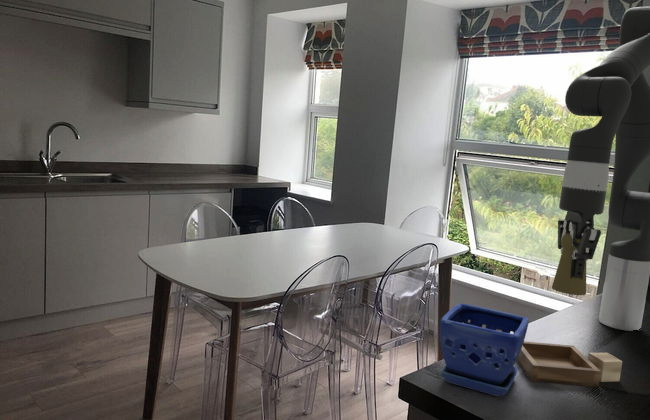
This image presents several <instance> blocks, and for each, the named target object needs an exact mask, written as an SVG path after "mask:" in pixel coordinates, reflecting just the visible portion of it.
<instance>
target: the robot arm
mask: <svg viewBox="0 0 650 420" xmlns="http://www.w3.org/2000/svg"><path fill="white" fill-rule="evenodd" d="M648 67H650V5H649V6H648V5H647V6H637V7H631V8H628V9H626V10H625V12H624V14H623V15H622V18H621V22H620V28H619V47H617V48H615V49H614V50H612V51H611V52H610V53H609V54H607V56H606V57H605V58H604V60H602V62H601V63H600V64H598V65H596V66H594V67H592V68H590V69H589V70H587V71H585V72H583V73H581V74H579V76H577V77H576V78H575V79H574V80H573V81H572V82H571V83H570V85H569V86H568V88H567V90H566V92H565V98H564V99H565V100H564V101H565V105H566V108H567V110H568V111H569V112H570V113H571V114H572V115H574V116H578V117H579V116H580V117H600V120H599V121H598V122H597V123H596V125H594V126H591V127H587V128H582V129H577V130H575V131H573V132H571V133H572V134H571V135H570V140H569V147H568V154H567V155H568V156H567V159H566V160H567V162H566V165H565V168H564V170H563V171H564V173H563V178H562V185H561V192H560V198H559V204H558V205H559V206H558V207H559V209H560V210H562V211H564V212H566V214H565V218H564V219H558V220H557V248H558V250H560V255H561V254H562V251H563V248H562V246H561V239H562V236H563V235H564V234H566V233H570V236H571V239H572V240H571V246H572V247H574V249H573V251H572V259H573V260H572V264H571V276H570V278H571V279H572V277H576V278H581V280H582V279H583V273H584V266H585V261H586V262H587V261H588V260H593V258H594V255H595V252H596V249H597V247H598V243H599V241H600V238H601V235H602V230H601V229H596V228H594V225H595V220H594V219H595V218H594V216H595V215H597V216H598V215H602V214H603V213H604V211H605V204H606V203H605V202H606V196H607V190H608V183H609V175H610V173H609V172H610V171H609V169H610V168H609V167H610V165H609V164H610V159H611V156H612V155H611V153H612V147H613V143H614V141H615V145H614V148H615V149H614V162H613V163H614V164H613V174H612V182H611V189H610V196H609V203H608V213H607V214H608V221H609V224H610V225H611V226H613V227H617V228H621V229H626V230H627V229H628V230H634V231H639V234H638V236H636V237H634V238H632V239H628V240H619V241H615V242H614V241H613V242H612V243H611V244H610V246H609V252H608V258H607V265H606V271H605V272H606V273H605V278H604V282H603V287H602V295H601V302H600V308H599V315H598V319H599V320H598V321H599V323H601V324H603V325H604V326H606V327H609V328H611V329H612V328H613V329H616V330H622V331H627V332H628V331H629V332H634V331H633V330H638V331H640V330H641V329H642V323H643V317H644V313H645V306H646V299H647V298H646V297H647V294H648V293H647V292H648V286H649V282H650V281H649V280H650V192H644V191H643V192H642V191H634V190H629V182H630V180H631V179H632V177H633V175H634V174H635V172H636V171H637V170H638V168H639V167H640V166H641V165H642V164H643V163H644V161H646V159H648V157H649V156H650V84H649V82H648V80H647V79H646V76H645V75H644V71H645V70H646V69H647V68H648ZM614 139H615V140H614ZM576 238H577V239H581V242H580V243H577V242H576ZM578 247H579V248H578ZM589 248H590V249H589ZM584 249H585V250H584ZM588 249H589V251H588ZM583 251H584V252H583ZM640 328H641V329H640ZM639 329H640V330H639Z"/></svg>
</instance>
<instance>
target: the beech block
mask: <svg viewBox="0 0 650 420" xmlns="http://www.w3.org/2000/svg"><path fill="white" fill-rule="evenodd" d="M587 359H588V360H589V361H590V362H591V363H593V364H594V365H595V366H596V367H597V368H598V369H599V370H600V371H601V374H600V380H599V383H600V382H602V383H605V382H620V380H621V373H622V368H623V367H622V365H623V361H622V360H621V359H620V358H617V357H616V356H614V355H612V354H610V353H609V352H588V358H587Z"/></svg>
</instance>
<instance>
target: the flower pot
mask: <svg viewBox="0 0 650 420" xmlns="http://www.w3.org/2000/svg"><path fill="white" fill-rule="evenodd" d="M529 322H530V321H529V318H528V317H526V316H523V315H518V314H514V313H510V312H505V311H500V310H496V309H492V308H488V307H483V306H478V305H473V304H468V303H457V304H456V305H455V306H453V307H452V308H451V309H449V311H448V312H447V313H445V314H444V315H443V316H442V318H441V319H440V323H439V339H440V340H439V341H440V348H441V349H440V350H441V352H442V357H443V360H444V363H445V365H444V367H443V368H442V370H441V372H440V373H441V377H442V378H443V379H444V380H445V381H446V382H447V383H450V384H453V385H457V386H460V387H464V388H467V389H470V390H474V391H477V392H482V393H484V394H489V395H491V396H494V397H502V396H504V395H506V394H507V393H508V392H509V390H510V388H511V386H512V384H513V383H514V380H515V378H516V376H517V374H518V370H519V368H518V367H517V366H515V365H516V363H517V361H516V360H517V358H518V356H519V354H520V351H521V348H522V345H523V343H524V341H525V339H526V334H527V332H528V331H527V330H528V329H529V328H528V327H529ZM483 326H485V327H483ZM511 332H512V333H511Z"/></svg>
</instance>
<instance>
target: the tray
mask: <svg viewBox="0 0 650 420" xmlns="http://www.w3.org/2000/svg"><path fill="white" fill-rule="evenodd" d="M517 361H518V362H519V363H518V362H517ZM517 361H516V362H517V363H518V365H519V364H520V365H521V366H520V365H519V366H520V368H521V367H522V368H523V369H522V368H521V369H522V371H525V372H524V373H525V374H526V375H528V376H527V377H528V379H529V378H530V379H529V380H530V382H537V381H538V382H539V383H549V384H560V385H561V384H562V385H570V386H571V385H572V386H582V387H583V386H585V387H593V388H594V387H595V388H599V386H600V381H599V380H600V374H601V371H600V370H599V369H598V368H597V367H596V366H595V365H594V364H593V363H591V362H590V361H589V360H588V358H587V357H586V356H585V355H584V354H583V353H582V352H581V351H580V350H579V349H578V348H577V347H576V346H575V345H572V344H571V345H569V344H557V343H548V342H547V343H546V342H534V341H526V340H524V343H523V345H522V348H521V351H520V354H519V356H518V358H517Z"/></svg>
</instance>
